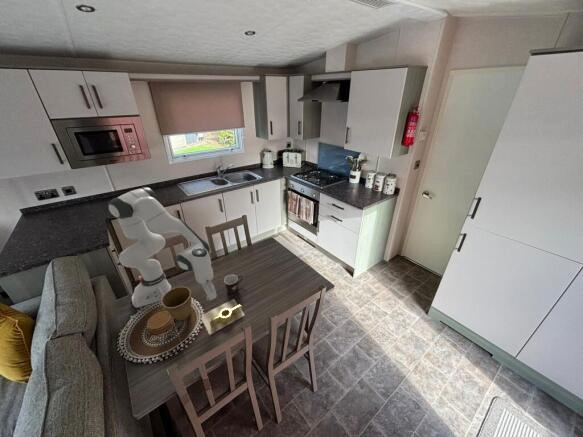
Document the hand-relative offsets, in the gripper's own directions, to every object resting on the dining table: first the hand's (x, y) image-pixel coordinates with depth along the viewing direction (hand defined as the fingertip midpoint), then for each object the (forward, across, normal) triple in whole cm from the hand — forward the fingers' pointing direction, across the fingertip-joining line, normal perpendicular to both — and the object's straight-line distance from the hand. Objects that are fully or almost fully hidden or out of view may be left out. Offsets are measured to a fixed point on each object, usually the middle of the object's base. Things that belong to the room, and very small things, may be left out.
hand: (208, 293), depth 132 cm
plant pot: (+17, +9, +15) cm, 24 cm away
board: (+16, -6, -4) cm, 18 cm away
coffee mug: (+17, +9, -18) cm, 26 cm away
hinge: (+15, -9, -5) cm, 19 cm away
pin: (+4, 0, 0) cm, 4 cm away
